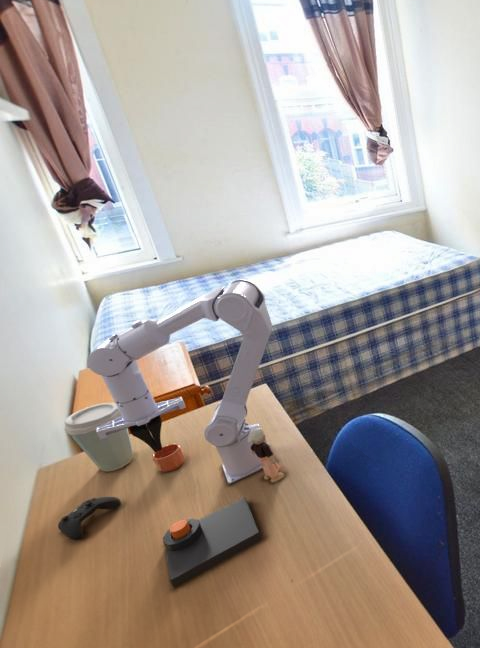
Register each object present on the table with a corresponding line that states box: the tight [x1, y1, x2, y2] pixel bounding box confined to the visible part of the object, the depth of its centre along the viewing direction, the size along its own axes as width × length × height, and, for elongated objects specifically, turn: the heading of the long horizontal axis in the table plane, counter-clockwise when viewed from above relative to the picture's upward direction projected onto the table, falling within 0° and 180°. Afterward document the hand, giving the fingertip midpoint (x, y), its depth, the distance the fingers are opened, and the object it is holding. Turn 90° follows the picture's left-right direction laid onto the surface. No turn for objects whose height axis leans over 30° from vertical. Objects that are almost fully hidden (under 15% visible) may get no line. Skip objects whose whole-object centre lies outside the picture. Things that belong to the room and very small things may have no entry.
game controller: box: [57, 496, 122, 541], centre depth 95 cm, size 10×5×6 cm
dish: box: [151, 443, 186, 473], centre depth 109 cm, size 5×5×4 cm
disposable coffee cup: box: [63, 401, 134, 473], centre depth 109 cm, size 11×11×15 cm
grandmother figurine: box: [248, 427, 285, 483], centre depth 100 cm, size 8×4×13 cm, turn 71°
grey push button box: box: [162, 496, 263, 589], centre depth 87 cm, size 14×12×4 cm
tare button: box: [169, 519, 190, 539], centre depth 86 cm, size 3×3×2 cm
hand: (158, 448), depth 99 cm, fingers closed
